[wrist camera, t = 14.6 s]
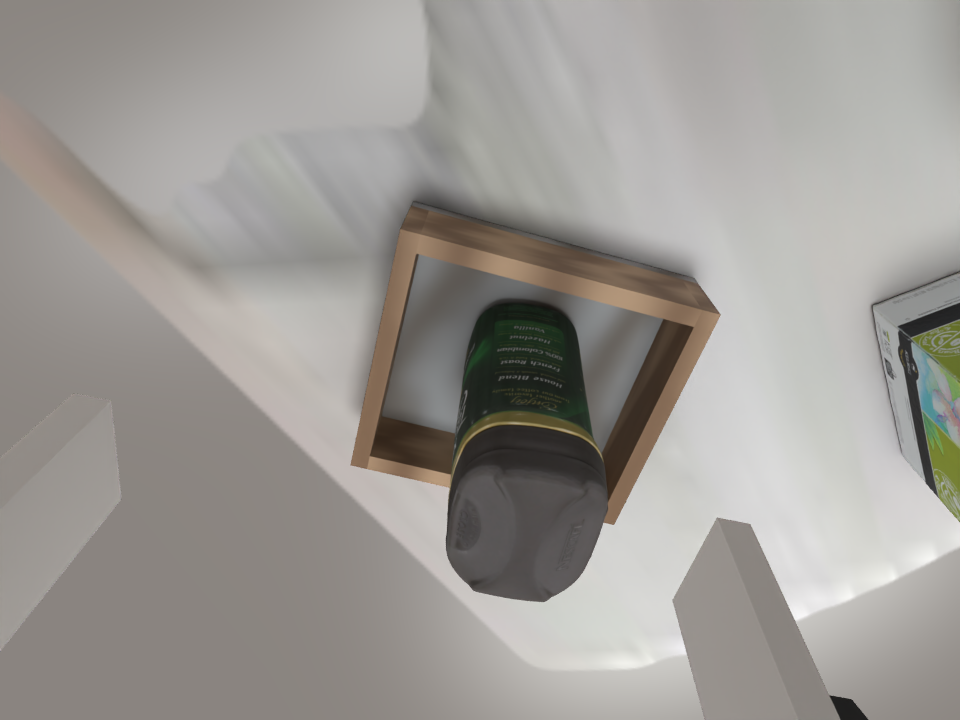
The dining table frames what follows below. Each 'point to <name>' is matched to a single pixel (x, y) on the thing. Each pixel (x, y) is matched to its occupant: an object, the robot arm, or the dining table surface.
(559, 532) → the coffee jar
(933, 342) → the tea box
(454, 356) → the walnut crate
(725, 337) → the dining table surface
